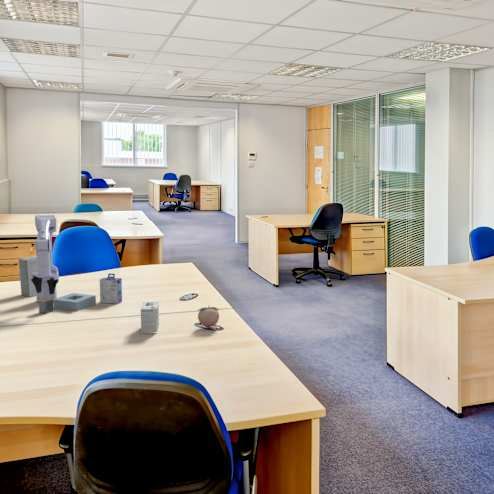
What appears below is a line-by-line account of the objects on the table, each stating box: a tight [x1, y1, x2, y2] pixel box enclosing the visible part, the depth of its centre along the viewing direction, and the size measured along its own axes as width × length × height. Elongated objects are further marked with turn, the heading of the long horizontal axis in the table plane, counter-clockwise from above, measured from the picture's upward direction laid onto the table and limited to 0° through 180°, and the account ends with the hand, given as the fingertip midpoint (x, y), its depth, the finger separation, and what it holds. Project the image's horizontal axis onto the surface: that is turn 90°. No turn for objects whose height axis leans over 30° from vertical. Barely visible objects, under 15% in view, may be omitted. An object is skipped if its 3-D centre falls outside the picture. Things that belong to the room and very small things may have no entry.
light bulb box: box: [140, 301, 160, 334], centre depth 219 cm, size 11×7×11 cm, turn 5°
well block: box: [53, 292, 97, 312], centre depth 255 cm, size 14×14×4 cm
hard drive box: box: [18, 255, 54, 298], centre depth 278 cm, size 16×8×20 cm, turn 144°
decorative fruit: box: [197, 306, 220, 328], centre depth 222 cm, size 9×8×10 cm
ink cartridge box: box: [99, 273, 123, 305], centre depth 262 cm, size 10×6×14 cm, turn 79°
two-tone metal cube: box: [38, 297, 55, 315], centre depth 244 cm, size 4×5×6 cm
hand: (45, 293), depth 243 cm, fingers open, 7 cm apart
